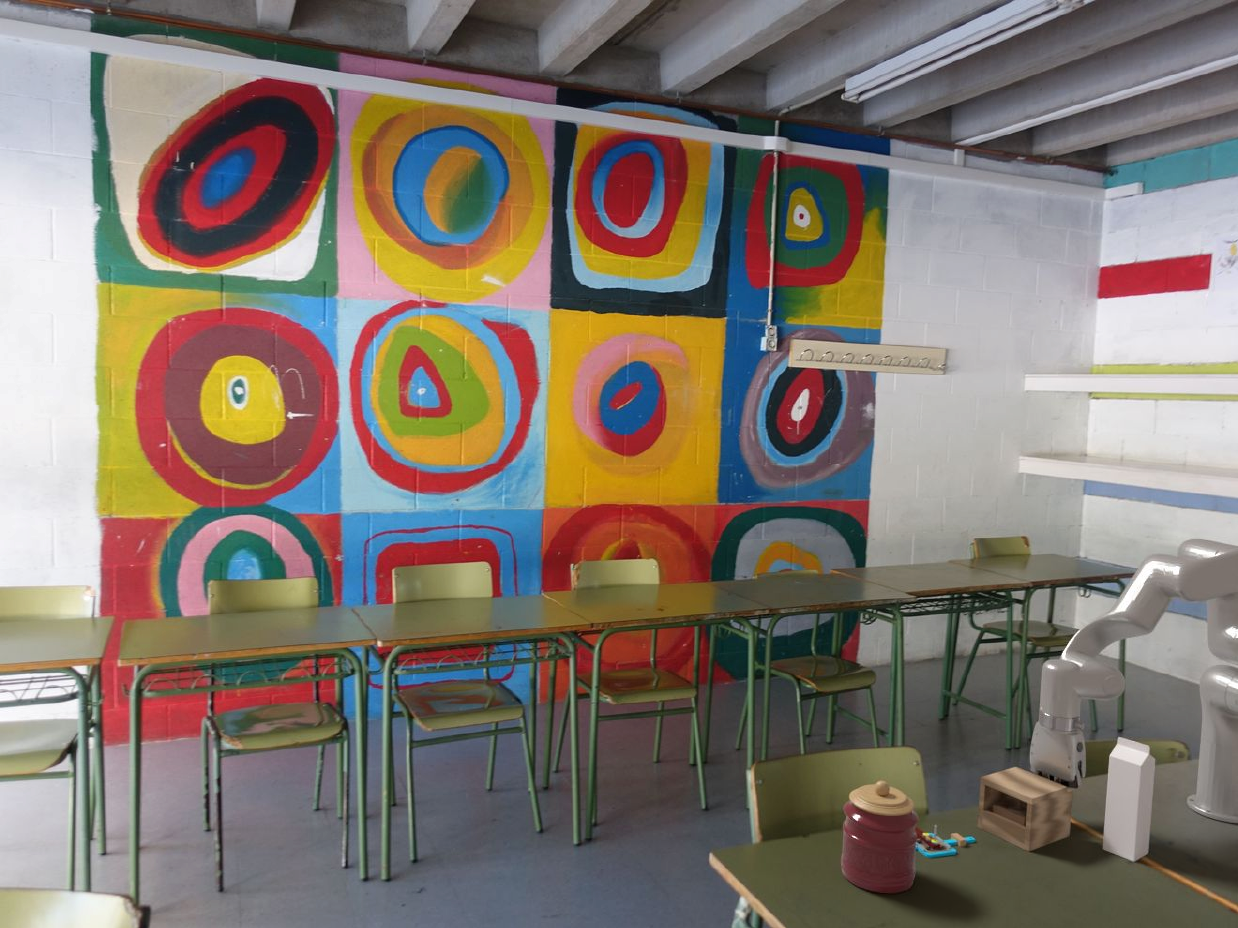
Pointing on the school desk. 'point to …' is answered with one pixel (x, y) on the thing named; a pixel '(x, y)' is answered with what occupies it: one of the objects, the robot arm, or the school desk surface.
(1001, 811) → the caddy
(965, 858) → the school desk surface
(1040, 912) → the school desk surface
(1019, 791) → the shelf
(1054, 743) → the robot arm
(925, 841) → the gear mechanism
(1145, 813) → the milk
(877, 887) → the canister
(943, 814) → the school desk surface
